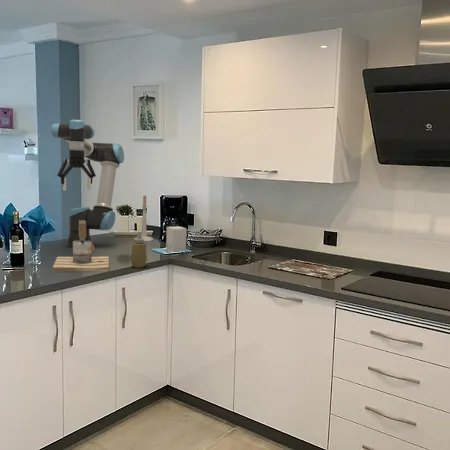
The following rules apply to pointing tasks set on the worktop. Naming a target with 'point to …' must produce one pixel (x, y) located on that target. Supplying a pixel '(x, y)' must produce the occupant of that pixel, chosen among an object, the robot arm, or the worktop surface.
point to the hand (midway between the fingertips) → (76, 190)
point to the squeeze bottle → (138, 252)
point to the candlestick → (144, 223)
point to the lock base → (81, 264)
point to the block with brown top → (82, 241)
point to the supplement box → (176, 239)
